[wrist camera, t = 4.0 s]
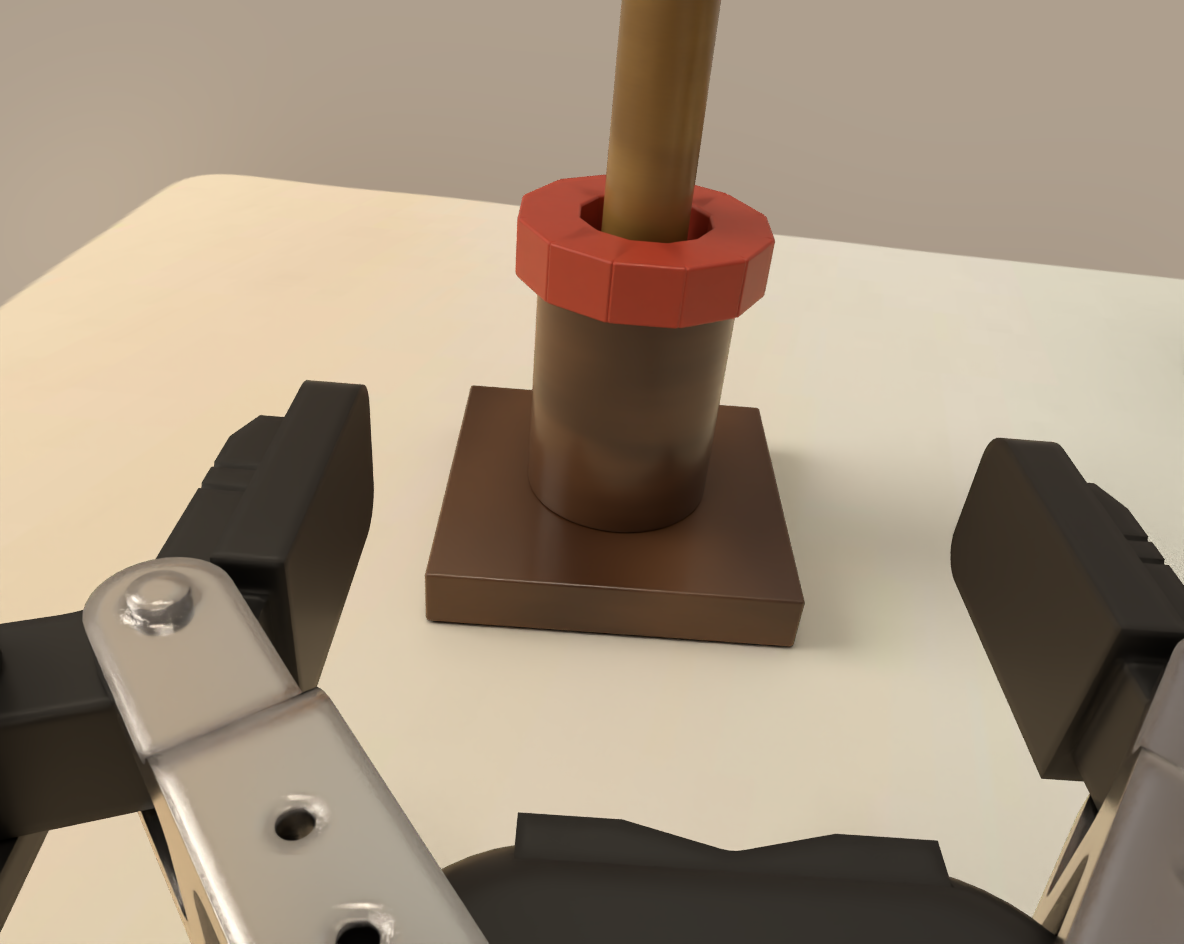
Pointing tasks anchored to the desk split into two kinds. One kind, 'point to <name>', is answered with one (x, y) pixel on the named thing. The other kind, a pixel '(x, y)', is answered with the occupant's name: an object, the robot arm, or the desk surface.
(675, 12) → the ring stand
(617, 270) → the ring
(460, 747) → the desk surface
